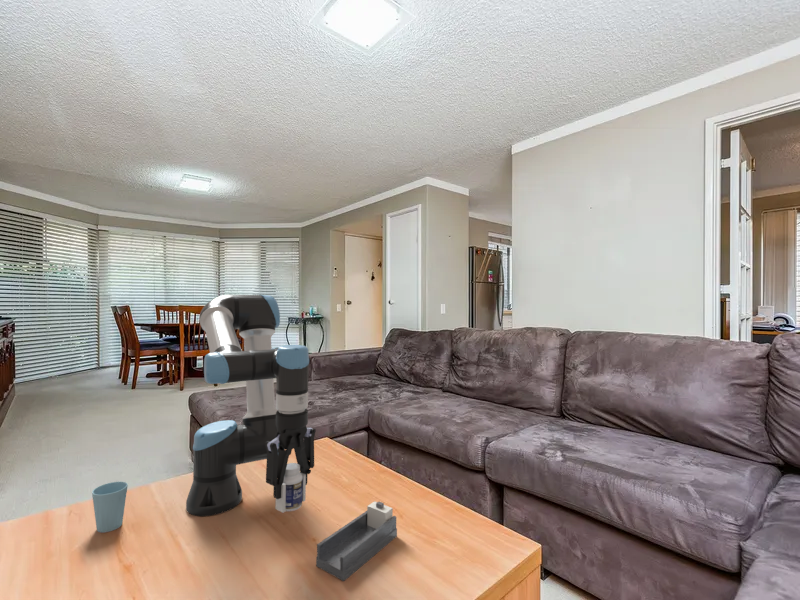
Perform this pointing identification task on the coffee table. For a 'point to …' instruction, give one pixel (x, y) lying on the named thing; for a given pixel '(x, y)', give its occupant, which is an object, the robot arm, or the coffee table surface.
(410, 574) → the coffee table surface
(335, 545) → the rail
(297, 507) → the pill bottle
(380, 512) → the mounted module
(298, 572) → the coffee table surface
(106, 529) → the cup
